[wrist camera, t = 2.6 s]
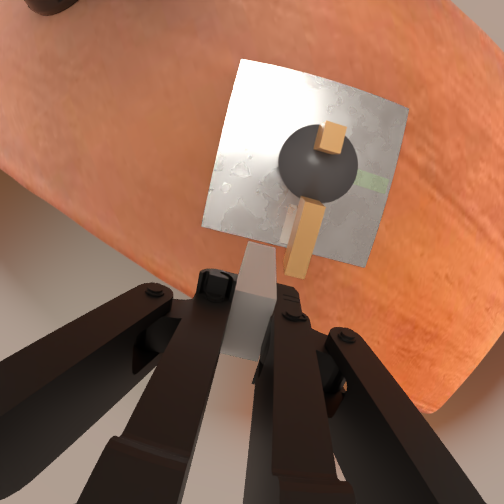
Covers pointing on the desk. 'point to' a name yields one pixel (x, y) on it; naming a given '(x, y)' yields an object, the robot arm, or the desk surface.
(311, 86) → the post plate
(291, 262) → the cap
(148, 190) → the desk surface
